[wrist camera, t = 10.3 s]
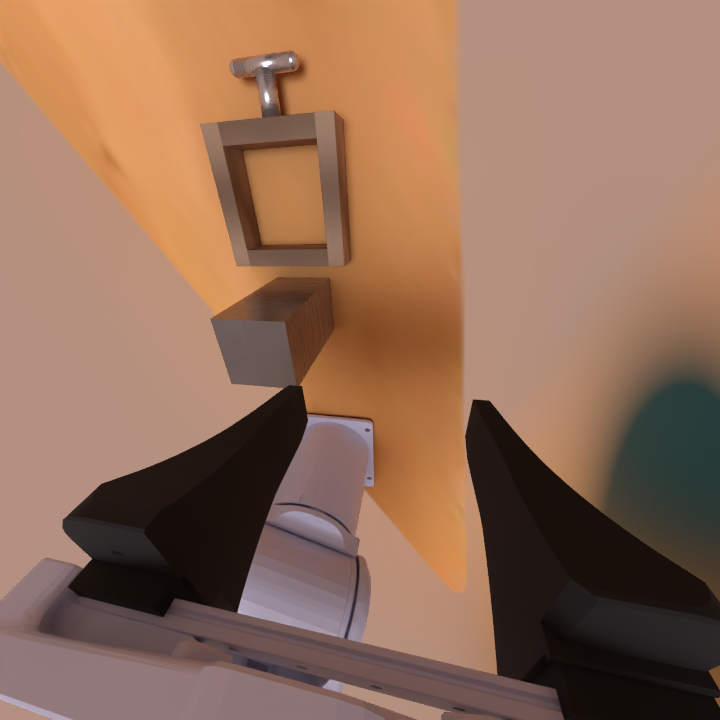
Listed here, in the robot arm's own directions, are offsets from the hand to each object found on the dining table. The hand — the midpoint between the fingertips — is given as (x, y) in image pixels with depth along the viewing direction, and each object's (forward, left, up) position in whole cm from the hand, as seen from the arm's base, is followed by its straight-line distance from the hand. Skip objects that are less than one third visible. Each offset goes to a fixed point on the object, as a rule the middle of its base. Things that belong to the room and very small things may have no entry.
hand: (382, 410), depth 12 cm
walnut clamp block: (+9, +7, -10) cm, 16 cm away
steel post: (+1, +7, -10) cm, 13 cm away
